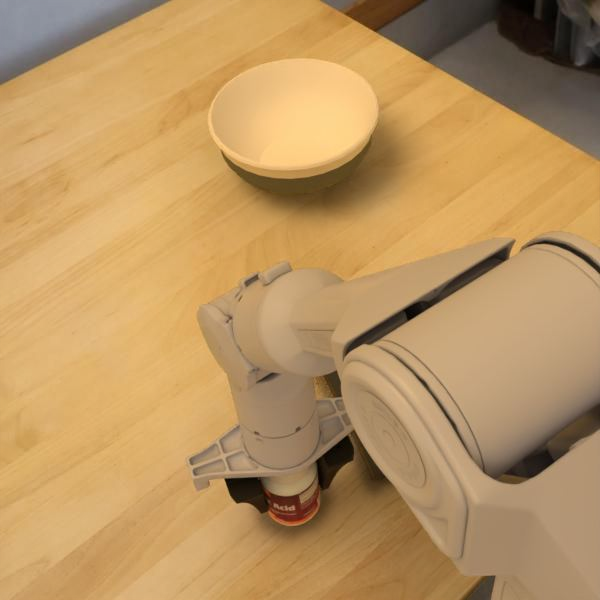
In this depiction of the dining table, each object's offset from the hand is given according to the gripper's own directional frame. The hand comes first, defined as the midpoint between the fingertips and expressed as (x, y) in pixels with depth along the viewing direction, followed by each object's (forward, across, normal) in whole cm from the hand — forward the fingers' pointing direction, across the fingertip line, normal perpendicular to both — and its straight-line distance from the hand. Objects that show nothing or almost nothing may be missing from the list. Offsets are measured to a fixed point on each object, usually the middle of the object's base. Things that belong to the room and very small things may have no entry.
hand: (291, 490), depth 71 cm
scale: (+2, -12, -5) cm, 13 cm away
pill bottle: (+2, 0, 0) cm, 2 cm away
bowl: (+2, -15, -39) cm, 42 cm away
